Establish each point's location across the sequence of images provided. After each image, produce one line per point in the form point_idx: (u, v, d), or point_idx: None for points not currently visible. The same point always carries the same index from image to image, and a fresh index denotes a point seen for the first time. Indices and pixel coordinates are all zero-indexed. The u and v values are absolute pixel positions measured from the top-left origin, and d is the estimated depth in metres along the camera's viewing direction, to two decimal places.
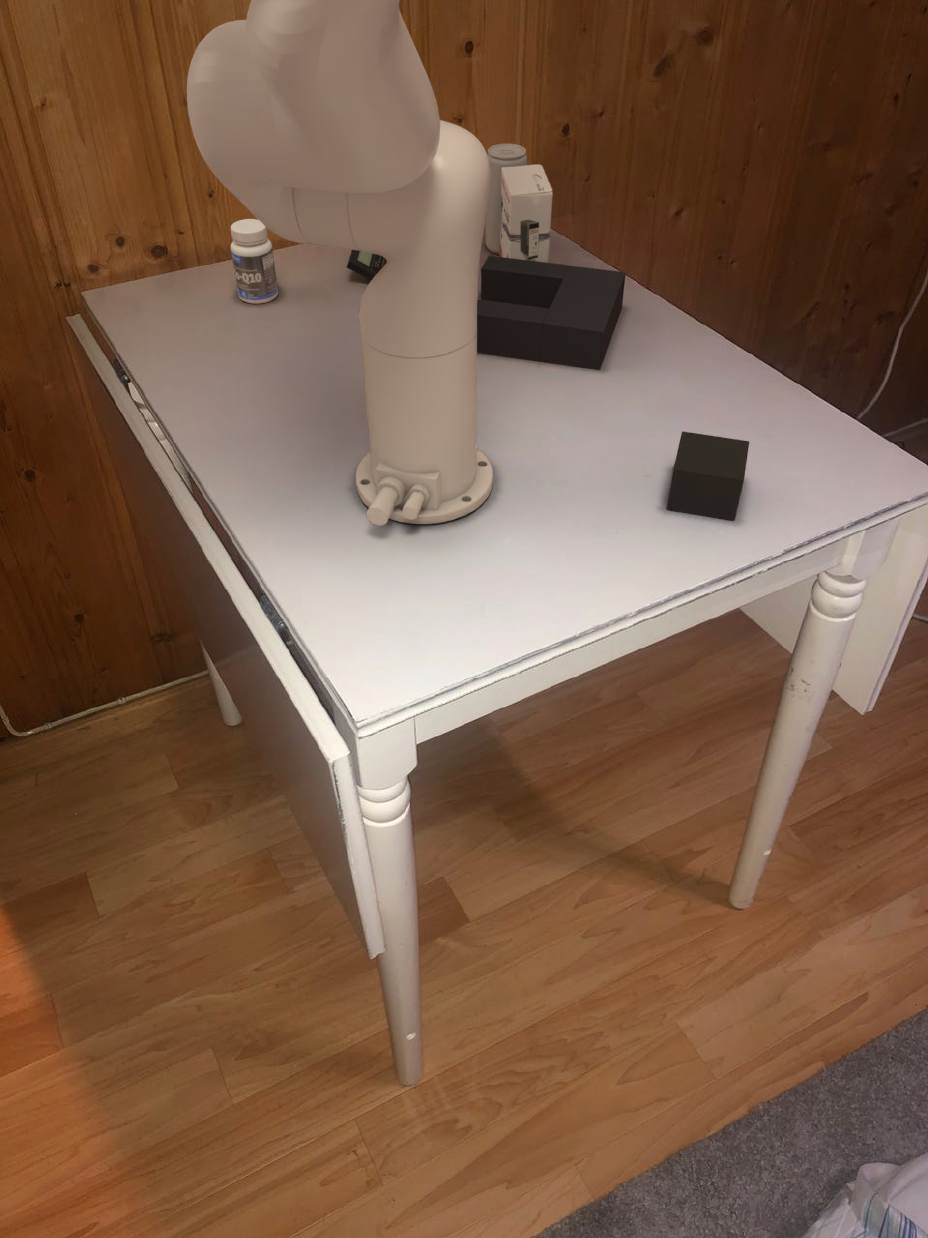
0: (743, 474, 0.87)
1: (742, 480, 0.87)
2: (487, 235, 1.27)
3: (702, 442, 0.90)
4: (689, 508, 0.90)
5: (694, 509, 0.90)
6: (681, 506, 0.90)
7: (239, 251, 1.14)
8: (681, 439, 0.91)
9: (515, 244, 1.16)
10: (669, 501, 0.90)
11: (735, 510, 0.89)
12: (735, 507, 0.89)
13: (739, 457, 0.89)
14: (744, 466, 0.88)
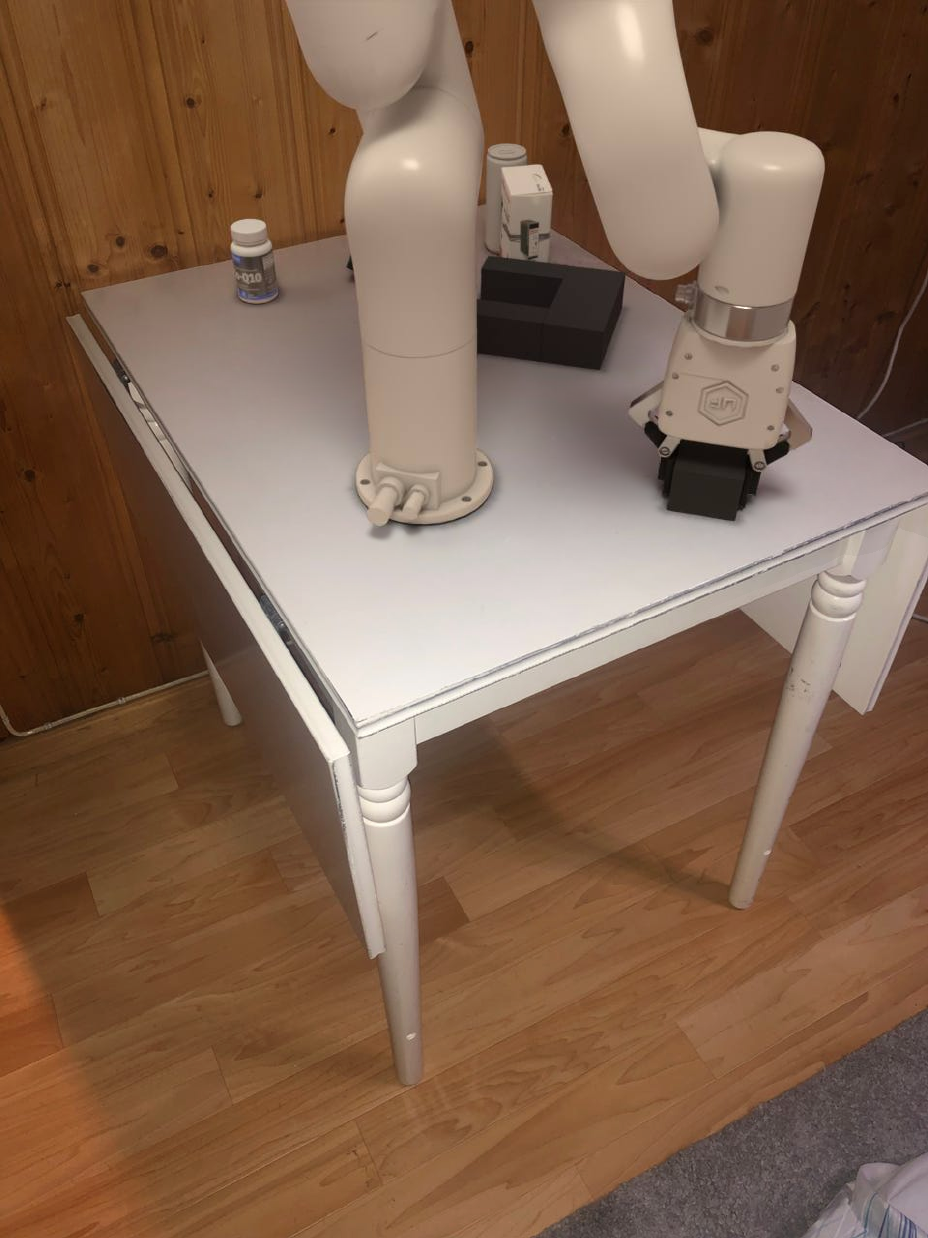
0: (743, 474, 0.87)
1: (742, 480, 0.87)
2: (487, 235, 1.27)
3: (702, 442, 0.90)
4: (690, 508, 0.90)
5: (694, 509, 0.90)
6: (681, 506, 0.90)
7: (239, 251, 1.14)
8: (681, 439, 0.91)
9: (515, 244, 1.16)
10: (669, 501, 0.90)
11: (735, 510, 0.89)
12: (735, 507, 0.89)
13: (739, 457, 0.89)
14: (744, 466, 0.88)
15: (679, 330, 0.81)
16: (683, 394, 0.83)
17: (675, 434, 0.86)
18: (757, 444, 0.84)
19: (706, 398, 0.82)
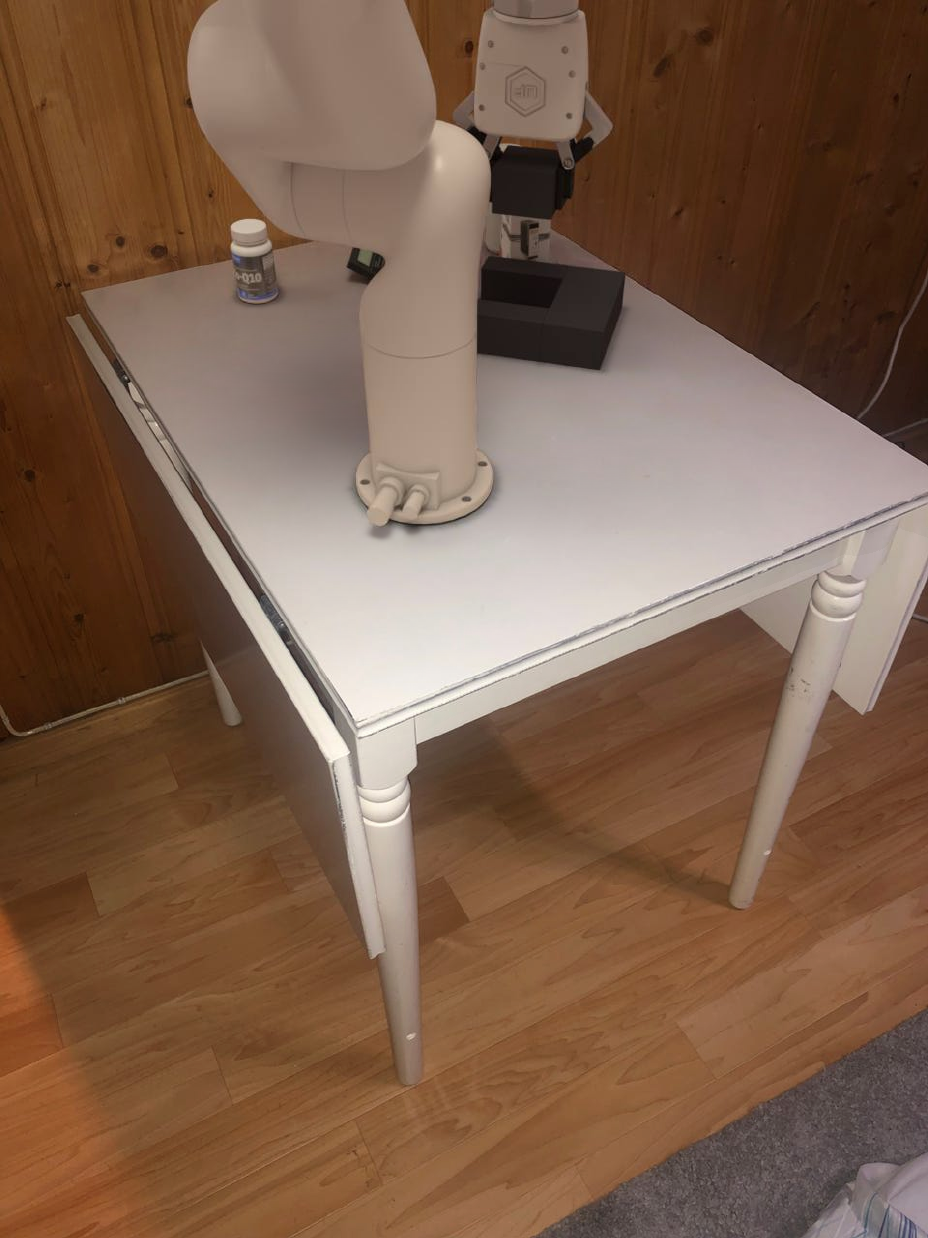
0: (554, 170, 0.97)
1: (552, 174, 0.96)
2: (487, 235, 1.27)
3: (524, 151, 1.00)
4: (511, 209, 1.00)
5: (515, 210, 1.00)
6: (504, 208, 1.00)
7: (239, 251, 1.14)
8: (505, 149, 1.00)
9: (515, 244, 1.16)
10: (493, 203, 1.00)
11: (550, 208, 0.98)
12: (549, 204, 0.98)
13: (553, 160, 0.98)
14: (556, 165, 0.97)
15: None
16: (491, 85, 0.92)
17: (489, 129, 0.95)
18: (560, 134, 0.94)
19: (511, 87, 0.92)
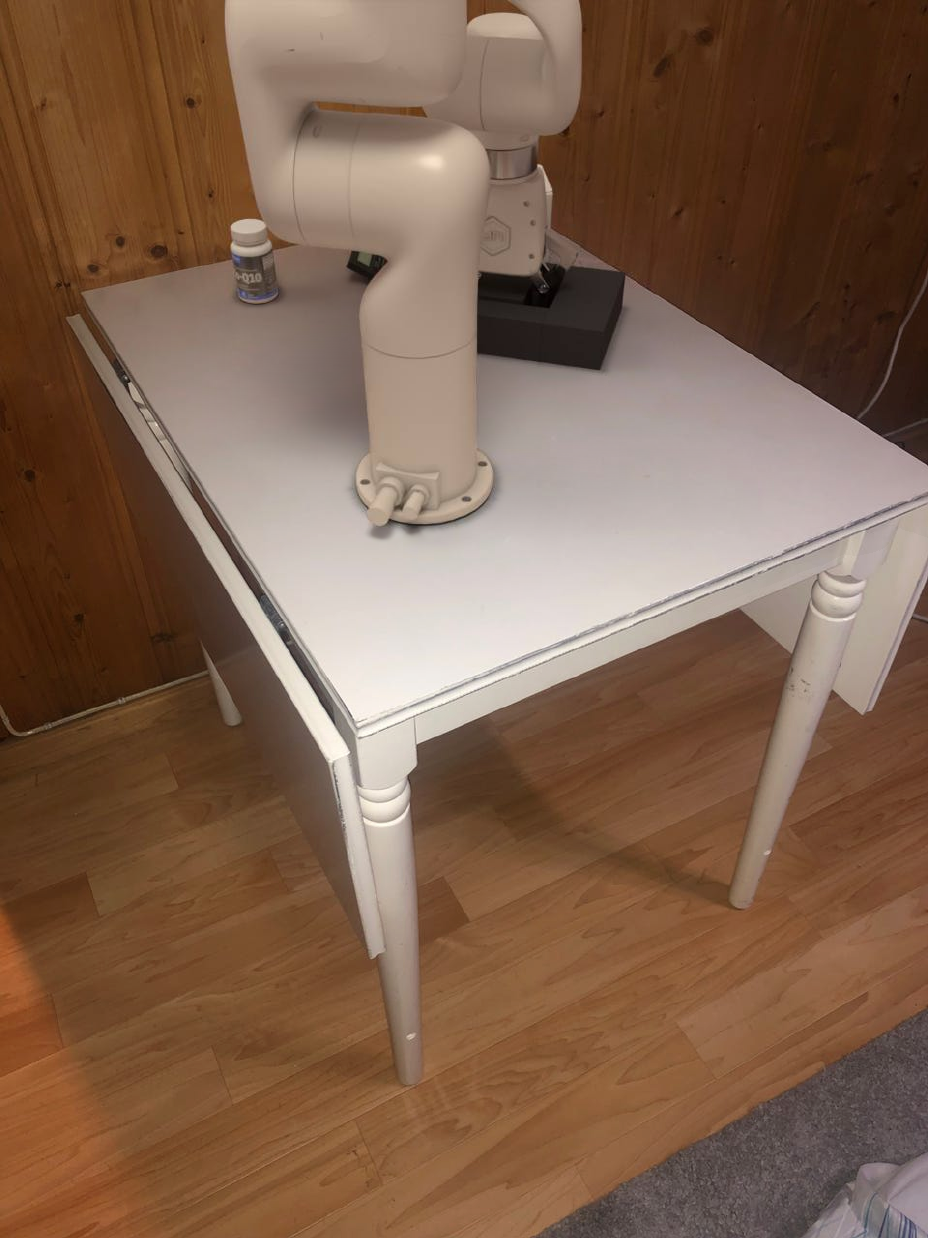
0: (523, 296, 1.10)
1: (522, 300, 1.10)
2: None
3: (497, 276, 1.14)
4: None
5: None
6: None
7: (239, 251, 1.14)
8: (481, 274, 1.14)
9: None
10: None
11: None
12: None
13: (523, 286, 1.12)
14: (526, 291, 1.11)
15: None
16: None
17: None
18: (523, 271, 1.07)
19: None
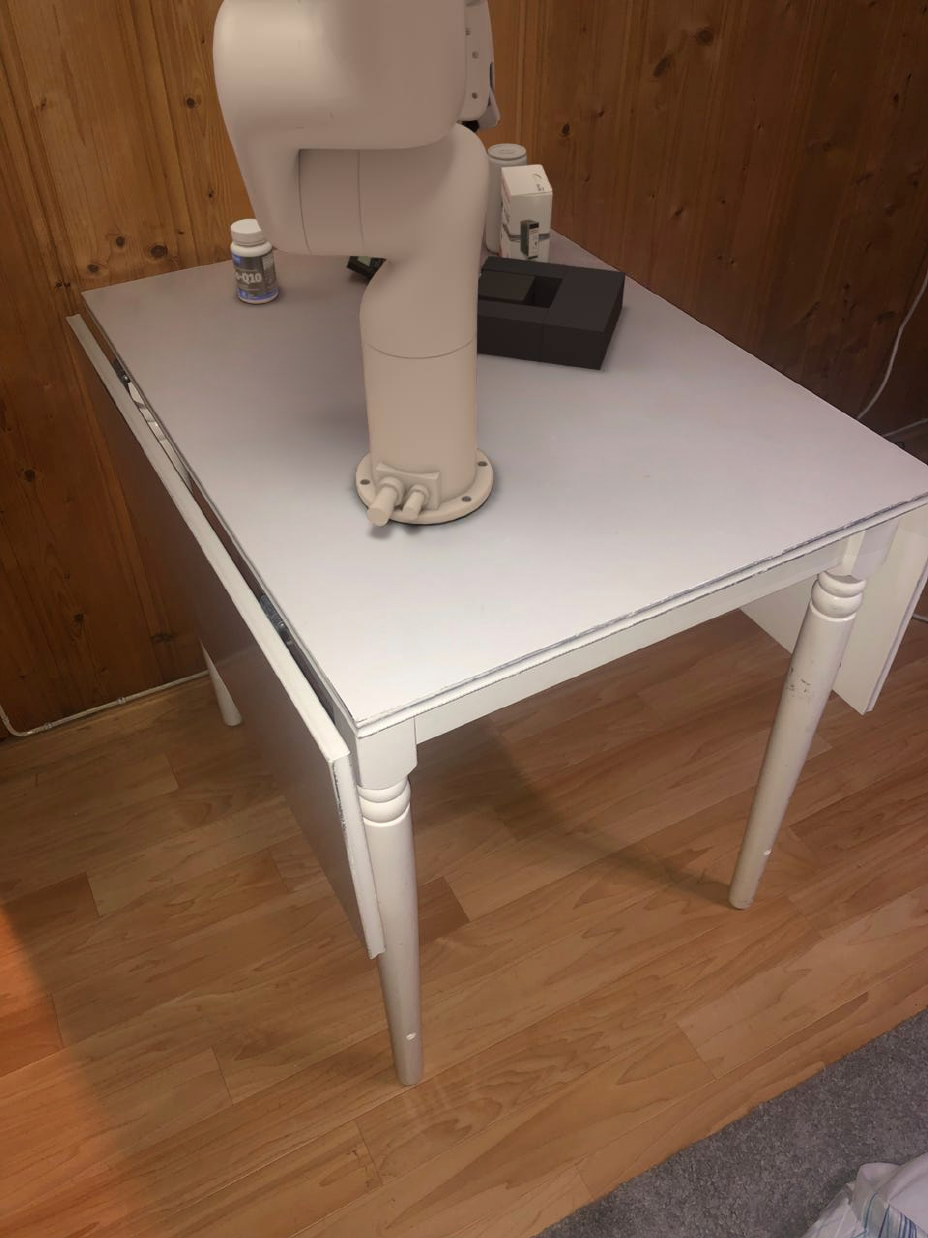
0: (523, 296, 1.10)
1: (522, 300, 1.10)
2: (487, 235, 1.27)
3: (497, 276, 1.14)
4: None
5: None
6: None
7: (239, 251, 1.14)
8: (481, 274, 1.14)
9: (515, 244, 1.16)
10: None
11: None
12: None
13: (523, 286, 1.12)
14: (526, 291, 1.11)
15: None
16: None
17: None
18: (467, 113, 0.98)
19: None
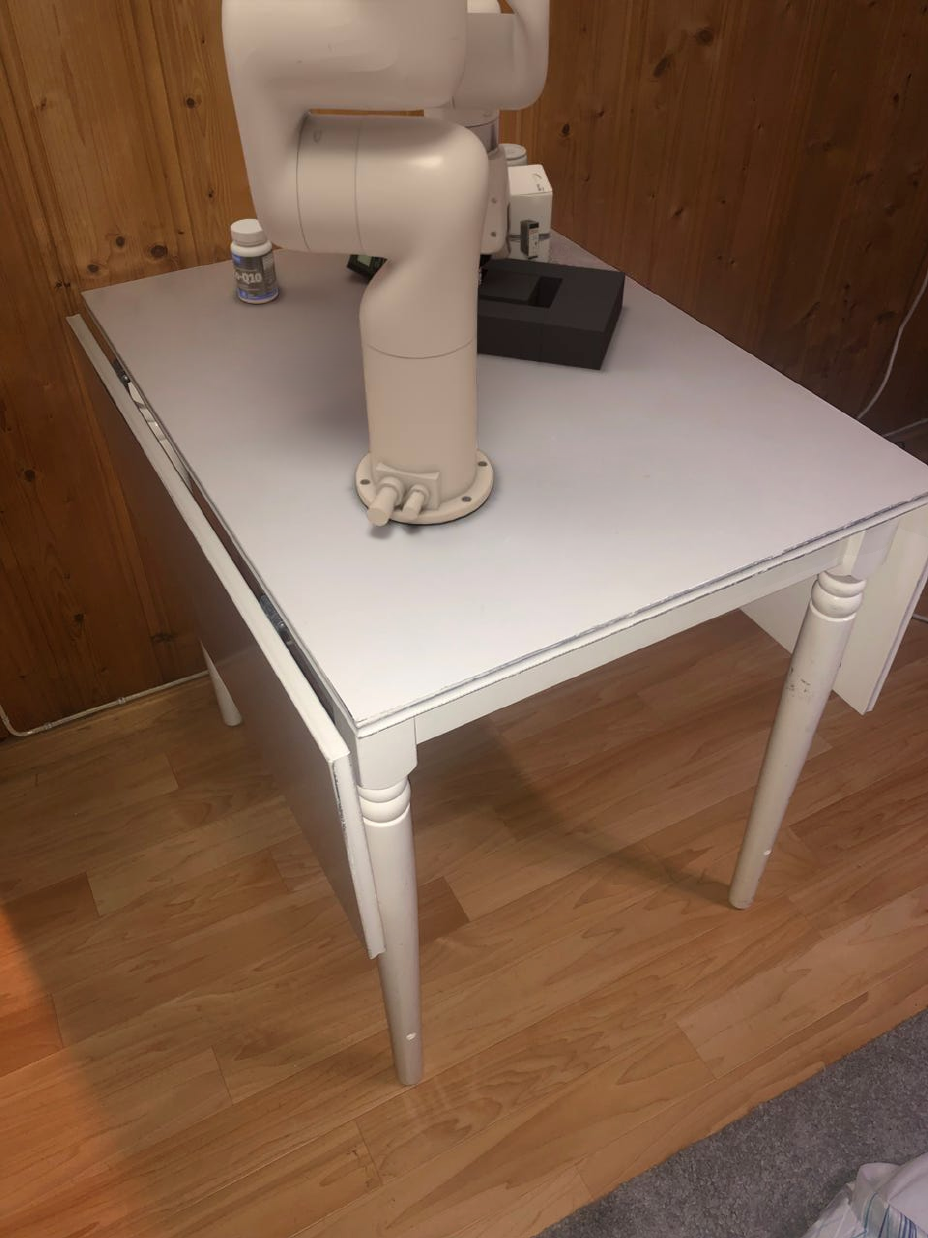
0: (528, 296, 1.10)
1: (526, 300, 1.10)
2: None
3: (502, 276, 1.14)
4: None
5: None
6: None
7: (239, 251, 1.14)
8: (486, 274, 1.14)
9: (515, 244, 1.16)
10: None
11: None
12: None
13: (528, 286, 1.12)
14: (530, 291, 1.11)
15: None
16: None
17: None
18: (486, 249, 1.07)
19: None
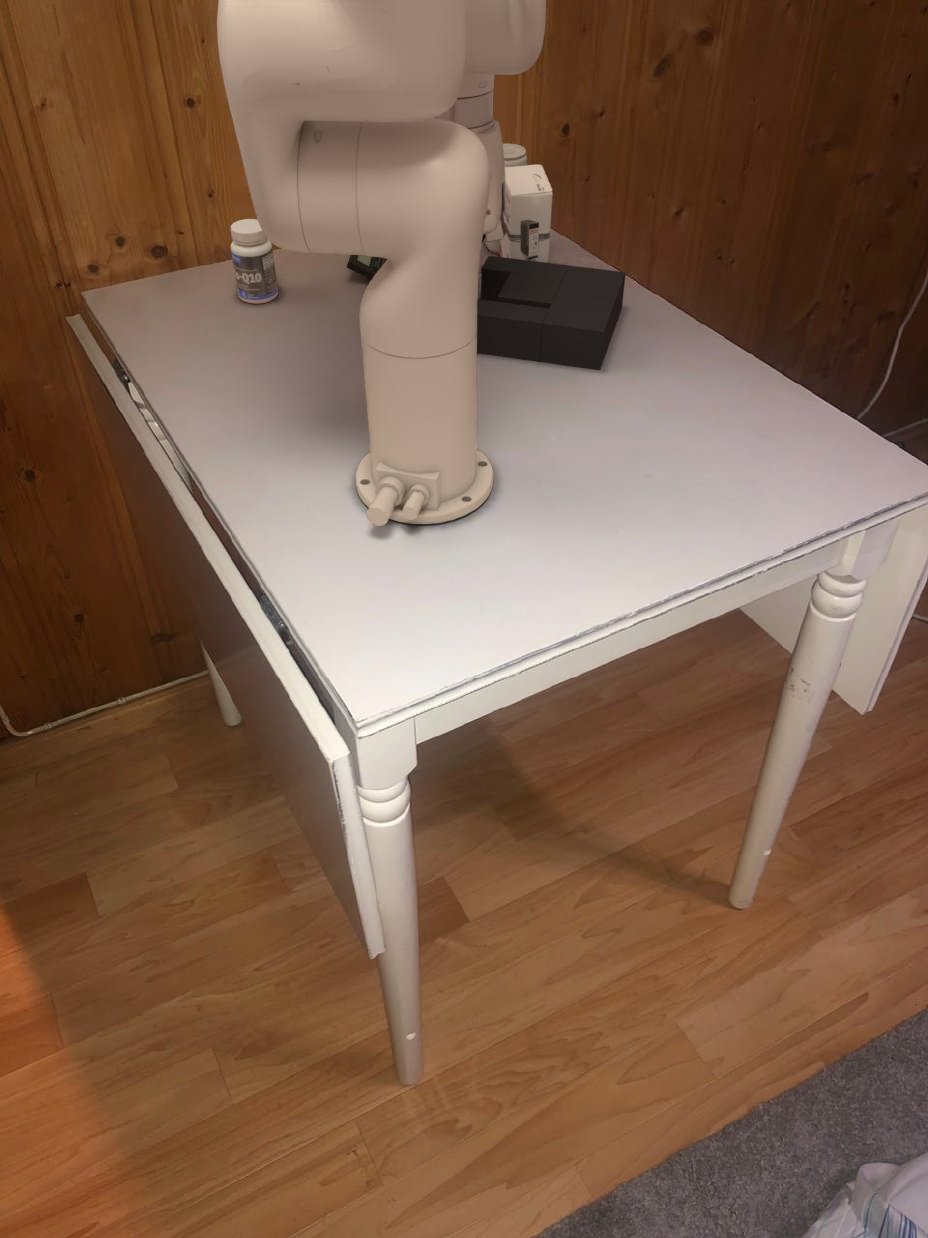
0: (552, 299, 1.10)
1: (550, 303, 1.09)
2: None
3: (525, 279, 1.13)
4: None
5: None
6: None
7: (239, 251, 1.14)
8: (509, 277, 1.13)
9: (515, 244, 1.16)
10: None
11: None
12: None
13: (551, 288, 1.11)
14: (554, 294, 1.11)
15: None
16: None
17: None
18: None
19: None
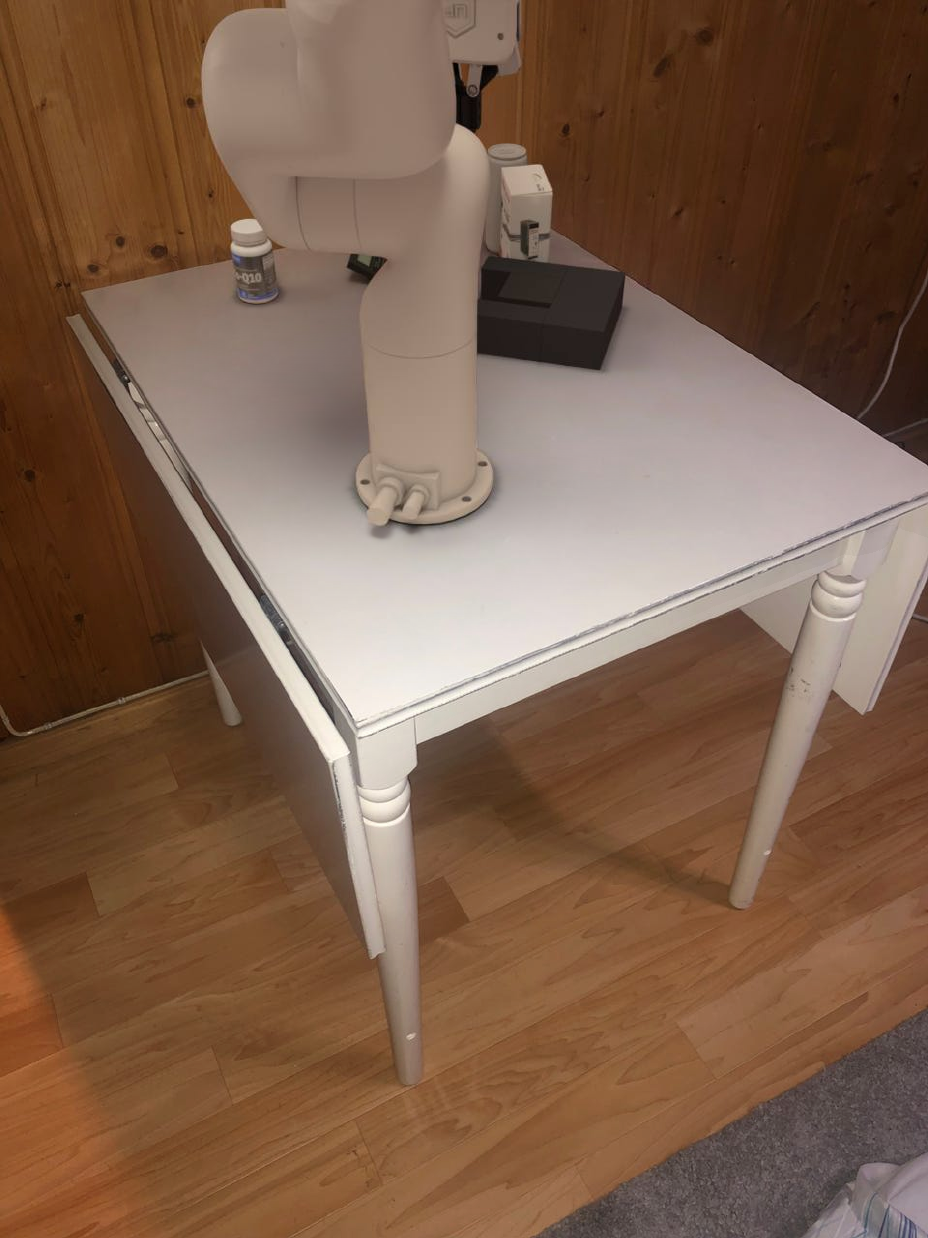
0: (552, 299, 1.10)
1: (550, 303, 1.09)
2: (487, 235, 1.27)
3: (525, 279, 1.13)
4: None
5: None
6: None
7: (239, 251, 1.14)
8: (508, 277, 1.13)
9: (515, 244, 1.16)
10: None
11: None
12: None
13: (551, 288, 1.11)
14: (554, 294, 1.11)
15: None
16: None
17: None
18: (492, 56, 0.91)
19: None
